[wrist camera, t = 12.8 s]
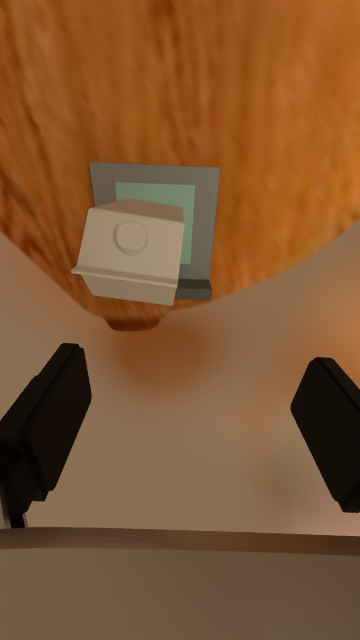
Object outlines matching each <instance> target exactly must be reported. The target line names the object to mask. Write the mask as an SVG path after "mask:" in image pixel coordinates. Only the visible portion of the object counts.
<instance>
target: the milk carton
mask: <svg viewBox="0 0 360 640" xmlns="http://www.w3.org/2000/svg"><path fill="white" fill-rule="evenodd" d="M184 226H185V224H184V213H183V207H180V206H174V205H168V204H162V203H156V202H150V201H144V200H138V199H131V198H128V199H124V200H120V201H116V202H112V203H108V204H104V205H100V206H96V207H93V208H90V209H89V210H88V215H87V220H86V224H85V229H84V234H83V238H82V243H81V248H80V252H79V257H78V262H77V266H76V267H74V268H73V269H72V270H71V273H75V274H81V276H82V277H83V279H84V281H85V283H86V285H87V286H88V288H89V290H90V292H91V293H92V295H95V296H101V297H109V298H116V299H124V300H131V301H139V302H146V303H154V304H161V305H169V306H173V302H174V297H175V292H176V288H177V287H178V276H179V267H180V259H181V251H182V243H183V235H184Z"/></svg>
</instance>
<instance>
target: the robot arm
mask: <svg viewBox="0 0 360 640" xmlns="http://www.w3.org/2000/svg"><path fill="white" fill-rule="evenodd" d="M91 398H92V395H91V388H90V382H89V377H88V371H87V365H86V359H85V354H84V349H83V348H80V347H79V345H78V344H73V343H62V344H61V345H60V347H59V348H58V349H57V351H56V352H55V353H54V355H53V356H52V357H51V359H50V360H49V361H48V363H47V364H46V365H45V367H44V368H43V369H42V371H41V372H40V373H39V375H37V376H35V377H34V378H33V379H32V380H31V381H30V383H29V384H28V385H27V386H26V388H25V389H24V391H23V392H22V393H21V394H20V396H19V397H18V398H17V400H16V401H15V402H14V403H13V405H12V406H11V408H10V409H9V410H8V411H7V413H6V414H5V415H4V417H3V418H2V419H1V421H0V640H360V537H359V536H333V535H332V536H331V535H307V534H282V533H281V534H280V533H253V532H223V531H193V530H159V529H157V530H156V529H124V528H78V527H76V528H75V527H74V528H72V527H29V528H28V524H27V519H26V515H25V512H27V511H28V509H29V506H30V505H31V502H32V501H45V499H46V496H47V494H48V492H49V491H53V490H54V488H55V487H56V484H57V482H58V480H59V477H60V475H61V472H62V470H63V468H64V465H65V463H66V460H67V458H68V456H69V453H70V451H71V448H72V446H73V444H74V441H75V439H76V436H77V434H78V432H79V429H80V427H81V424H82V422H83V419H84V417H85V415H86V412H87V410H88V407H89V405H90V402H91ZM291 412H292V415H293V417H294V419H295V421H296V423H297V425H298V427H299V429H300V431H301V433H302V436H303V438H304V439H305V442H306V444H307V446H308V448H309V450H310V452H311V454H312V456H313V458H314V460H315V462H316V465H317V467H318V469H319V471H320V473H321V475H322V477H323V479H324V481H325V483H326V485H327V487H328V489H329V491H330V493H331V495H332V497H333V498H334V499H335V501H337V502H338V503H339V505H340V507H341V509H342V511H343V512H349V513H359V512H360V389H359V388H358V387H357V386H356V385H355V384H354V382H353V381H352V380H351V379H350V378H349V377H348V375H347V374H346V373H345V372H344V371H343V370H342V369H341V367H340V366H339V365H338V364H337V363H336V362H335V361H334V360H333V359H332V358H321V357H316V358H314V360H312V361H310V363H309V364H308V367H307V369H306V371H305V374H304V376H303V378H302V380H301V383H300V385H299V387H298V389H297V392H296V394H295V396H294V399H293V401H292V403H291Z"/></svg>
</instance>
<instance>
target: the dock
mask: <svg viewBox="0 0 360 640" xmlns="http://www.w3.org/2000/svg"><path fill="white" fill-rule="evenodd" d="M89 165H90V173H91V180H92V188H93V196H94V203H95V207H96V206H100V205H104V204H108V203H112V202H116V201H120V200H124V199H128V198H131V199H138V200H144V201H150V202H156V203H162V204H168V205H174V206H180V207H183V213H184V224H185V226H184V235H183V243H182V251H181V259H180V267H179V276H178V287H177V288H176V292H175V297H174V299H190V300H211V295H212V288H211V284H210V281H209V275H210V266H211V256H212V246H213V236H214V226H215V217H216V207H217V197H218V187H219V177H220V168H219V167H195V166H172V165H148V164H125V163H101V162H89Z"/></svg>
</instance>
